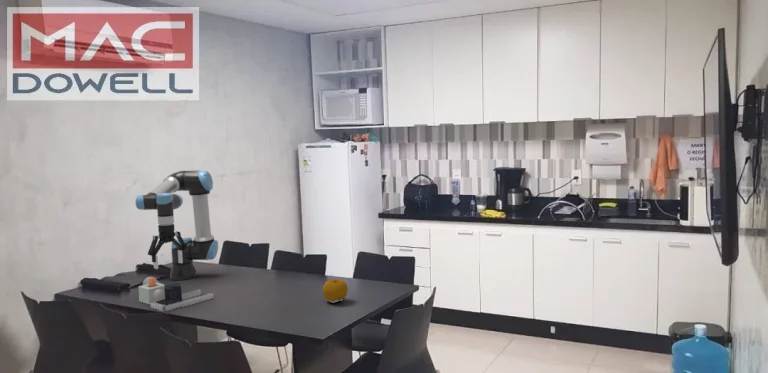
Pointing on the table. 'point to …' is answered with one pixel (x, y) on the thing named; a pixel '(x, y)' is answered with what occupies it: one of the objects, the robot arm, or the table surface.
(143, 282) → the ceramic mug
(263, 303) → the table surface
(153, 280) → the gauge plunger
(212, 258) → the robot arm
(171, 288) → the box
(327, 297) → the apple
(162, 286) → the cabinet
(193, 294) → the rail
